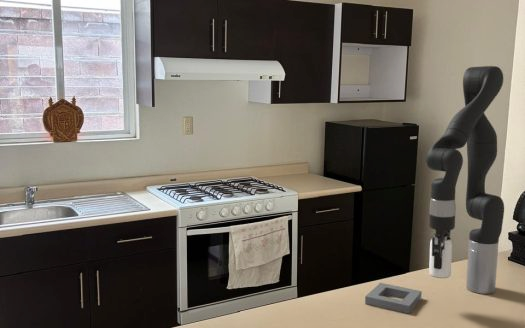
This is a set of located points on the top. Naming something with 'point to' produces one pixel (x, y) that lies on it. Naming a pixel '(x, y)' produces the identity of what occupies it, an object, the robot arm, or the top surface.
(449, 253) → the can
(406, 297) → the socket plate
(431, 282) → the top surface
